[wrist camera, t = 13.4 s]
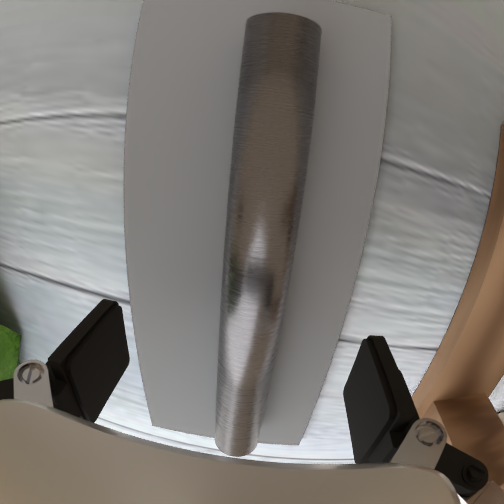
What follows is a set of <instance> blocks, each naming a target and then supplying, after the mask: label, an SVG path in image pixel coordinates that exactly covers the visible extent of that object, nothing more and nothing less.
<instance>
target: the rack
mask: <svg viewBox="0 0 504 504" xmlns="http://www.w3.org/2000/svg"><path fill="white" fill-rule="evenodd" d="M503 374H504V125H501V136H500V146H499V154H498V161H497V168H496V174H495V180H494V186H493V191H492V196H491V201H490V205H489V210H488V214H487V218H486V222H485V226H484V230H483V233H482V237H481V241H480V244H479V247H478V251H477V254H476V257H475V260H474V263H473V266H472V269H471V272H470V275H469V278H468V281H467V284H466V286H465V289H464V292H463V294H462V297H461V299H460V302H459V304H458V307H457V309H456V312H455V314H454V316H453V319H452V321H451V323H450V325H449V328H448V330H447V332H446V334H445V336H444V338H443V340H442V342H441V345H440V347H439V349H438V351H437V353H436V355H435V357H434V358H433V360H432V362H431V364H430V366H429V368H428V370H427V372H426V373H425V375H424V377H423V379H422V381H421V382H420V384H419V386H418V387H417V389H416V391H415V392H414V394H413V396H412V400H413V402H414V405H415V407H416V410H417V412H418V415H419V418H420V419H422V418H431V419H434V420H436V421H438V422H439V423H441V424H442V425H443V426H444V428H445V430H446V432H447V441H446V443H448V444H450V445H452V446H453V447H455V448H457V449H459V450H461V451H463V452H464V453H466V454H468V455H470V456H472V457H474V458H476V459H477V460H479V461H481V462H482V463H483V464H484V465H485V466H486V467H487V470H488V475H489V477H488V481H489V482H492V481H494V482H495V483H496V484H497V485H498V486H499V487H501V488H502V489H503V490H504V425H503V423H502V421H501V419H500V417H499V416H498V414H497V412H496V410H495V409H494V407H493V405H492V403H491V402H490V400H489V398H488V397H489V396H490V394H491V393H492V391H493V390H494V388H495V387H496V385H497V384H498V382H499V381H500V379H501V378H502V376H503Z"/></svg>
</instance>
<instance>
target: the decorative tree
mask: <svg viewBox="0 0 504 504" xmlns="http://www.w3.org/2000/svg"><path fill="white" fill-rule="evenodd" d="M20 340H21V335H19V334H18V333H16V332H14V331H12V330H10V329H9V328H7V327H5V326H2V325H0V381H2V380H7V379H11V378H14V371H15V370H16V368H17V363H18V358H19V349H20Z"/></svg>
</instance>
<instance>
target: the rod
mask: <svg viewBox="0 0 504 504" xmlns="http://www.w3.org/2000/svg"><path fill="white" fill-rule="evenodd" d="M321 33H322V29H321V27H320V25H319V24H317V23H316V22H314V21H313V20H311V19H308V18H306V17H303V16H299V15H295V14H290V13H281V12H268V13H260V14H256V15H253V16H251V17H249V18H248V19H247V20H246V26H245V34H244V42H243V51H242V59H241V68H240V77H239V86H238V95H237V104H236V114H235V124H234V134H233V145H232V155H231V167H230V178H229V190H228V202H227V215H226V228H225V242H224V256H223V271H222V287H221V304H220V322H219V342H218V364H217V389H216V419H215V443H216V445H217V447H218V448H219V449H220V450H221V451H222V452H223V453H225V454H227V455H230V456H236V457H239V456H245V455H247V454H249V453H251V452H252V451H253V450H254V449H255V448H256V446H257V442H258V437H259V433H260V429H261V424H262V420H263V416H264V411H265V407H266V402H267V397H268V393H269V388H270V383H271V379H272V374H273V369H274V364H275V359H276V354H277V349H278V344H279V339H280V334H281V328H282V323H283V318H284V312H285V307H286V301H287V296H288V290H289V284H290V279H291V273H292V267H293V261H294V255H295V249H296V242H297V236H298V229H299V223H300V216H301V210H302V203H303V196H304V189H305V181H306V174H307V167H308V159H309V151H310V143H311V135H312V126H313V118H314V109H315V99H316V90H317V79H318V69H319V58H320V46H321Z"/></svg>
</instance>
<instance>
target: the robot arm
mask: <svg viewBox="0 0 504 504" xmlns="http://www.w3.org/2000/svg"><path fill="white" fill-rule="evenodd" d="M129 360H130V357H129V351H128V346H127V340H126V333H125V327H124V320H123V313H122V308H121V306H119V305H118V303H117V302H116V301H112V300H107V299H103V300H102V301H101V302H100V303H99V304H98V305H97V306H96V307H95V308H94V309H93V310H92V311H91V312H90V313H89V314H88V315H87V316H86V317H85V318H84V319H83V320H82V322H81V323H80V324H79V325H78V326H77V327H76V328H75V329H74V330H73V331H72V332H71V333H70V334H69V336H68V337H67V338H66V339H65V340H64V341H63V342H62V343H61V344H60V345H59V347H58V348H57V349H56V350H55V351H54V352H53V353H52V354H51V356H50V357H49V358H48V362H47V363H46V364H44V363H43V362H41V361H39V360H28V361H25V362H23V363H21V364H20V365H19V366H18V367H17V368H16V370H15V371H14V378H11V379H7V380H2V381H0V504H504V490H503V489H502V488H501V487H499V486H498V485H497V484H496V483H495V482H494V481H492V482H489V481H488V477H489V475H488V470H487V467H486V466H485V465H484V464H483V463H482V462H481V461H479V460H477V459H476V458H474V457H472V456H470V455H468V454H466V453H464V452H463V451H461V450H459V449H457V448H455V447H453V446H452V445H450V444H448V443H446V441H447V432H446V430H445V428H444V426H443V425H442V424H441V423H439V422H438V421H436V420H434V419H431V418H422V419H420V418H419V415H418V412H417V410H416V407H415V405H414V402H413V400H412V397H411V395H410V392H409V390H408V387H407V385H406V382H405V380H404V378H403V375H402V373H401V371H400V370H398V367H397V365H396V363H395V360H394V358H393V356H392V354H391V351H390V349H389V347H388V344H387V342H386V340H385V338H384V337H383V336H372V335H370V336H368V337H367V339H363V341H362V343H361V346H360V349H359V352H358V354H357V357H356V360H355V362H354V365H353V367H352V370H351V372H350V375H349V377H348V380H347V382H346V385H345V387H344V392H343V396H344V402H345V407H346V413H347V418H348V424H349V429H350V435H351V441H352V447H353V454H354V460H355V463H356V464H294V463H277V462H265V461H255V460H246V459H238V458H231V457H224V456H218V455H212V454H206V453H201V452H195V451H191V450H186V449H181V448H177V447H172V446H168V445H164V444H160V443H156V442H152V441H149V440H145V439H141V438H138V437H135V436H131V435H128V434H125V433H122V432H118V431H115V430H112V429H109V428H107V427H104V426H101V425H98V424H95V423H94V422H95V421H96V420H97V418H98V416H99V414H100V413H101V411H102V409H103V407H104V406H105V404H106V402H107V400H108V399H109V397H110V395H111V394H112V392H113V390H114V388H115V387H116V385H117V383H118V382H119V380H120V378H121V377H122V375H123V373H124V372H125V370H126V368H127V367H128V365H129ZM498 416H499V417H500V419H501V421H502V423H503V425H504V412H501V413H499V414H498Z"/></svg>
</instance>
